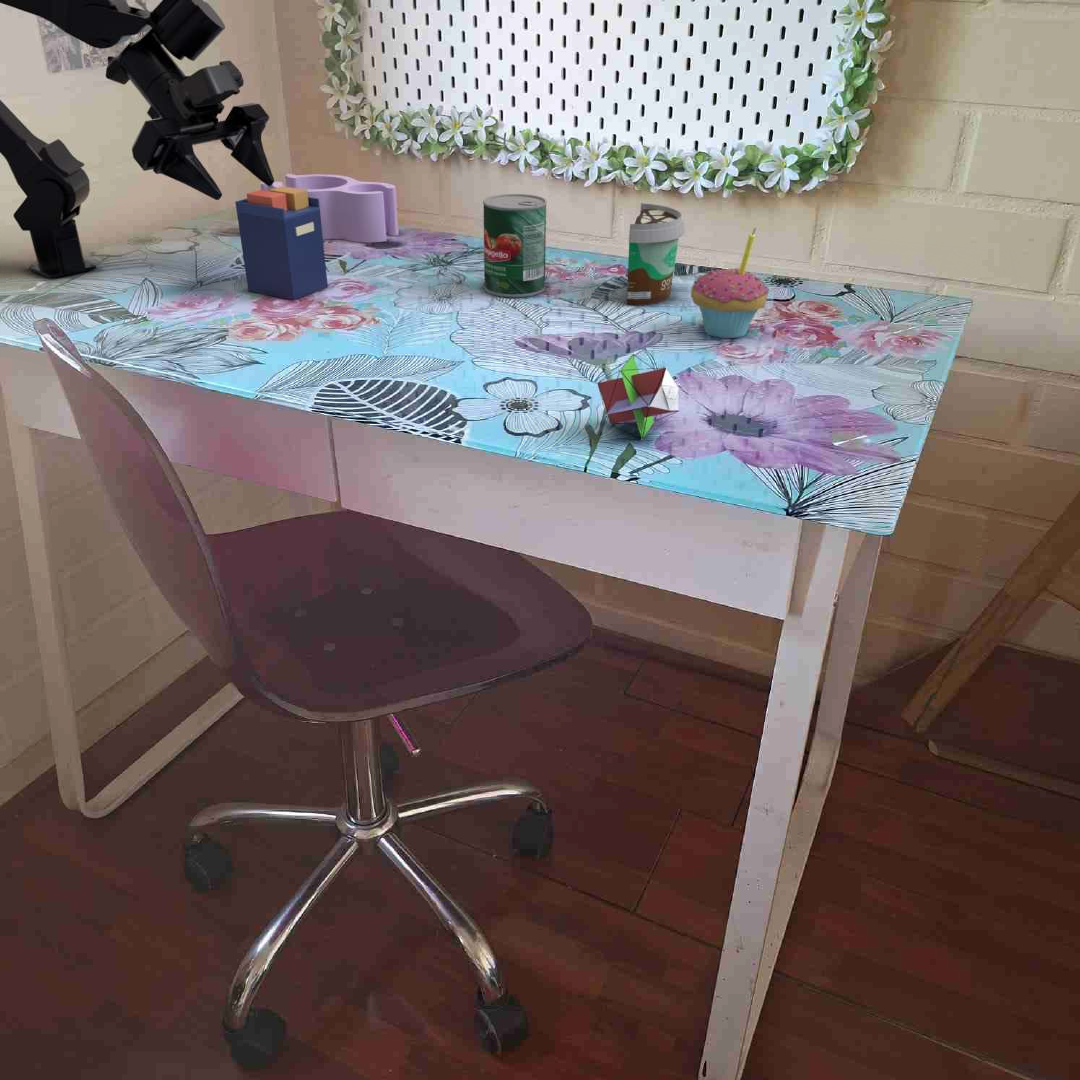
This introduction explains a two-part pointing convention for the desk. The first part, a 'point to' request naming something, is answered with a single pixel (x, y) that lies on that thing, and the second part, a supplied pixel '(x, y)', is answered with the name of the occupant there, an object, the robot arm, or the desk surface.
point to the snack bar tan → (293, 197)
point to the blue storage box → (282, 249)
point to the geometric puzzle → (639, 396)
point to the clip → (349, 206)
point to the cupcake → (729, 298)
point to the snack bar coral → (268, 199)
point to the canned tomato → (514, 245)
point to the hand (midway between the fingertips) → (246, 190)
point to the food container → (653, 254)
